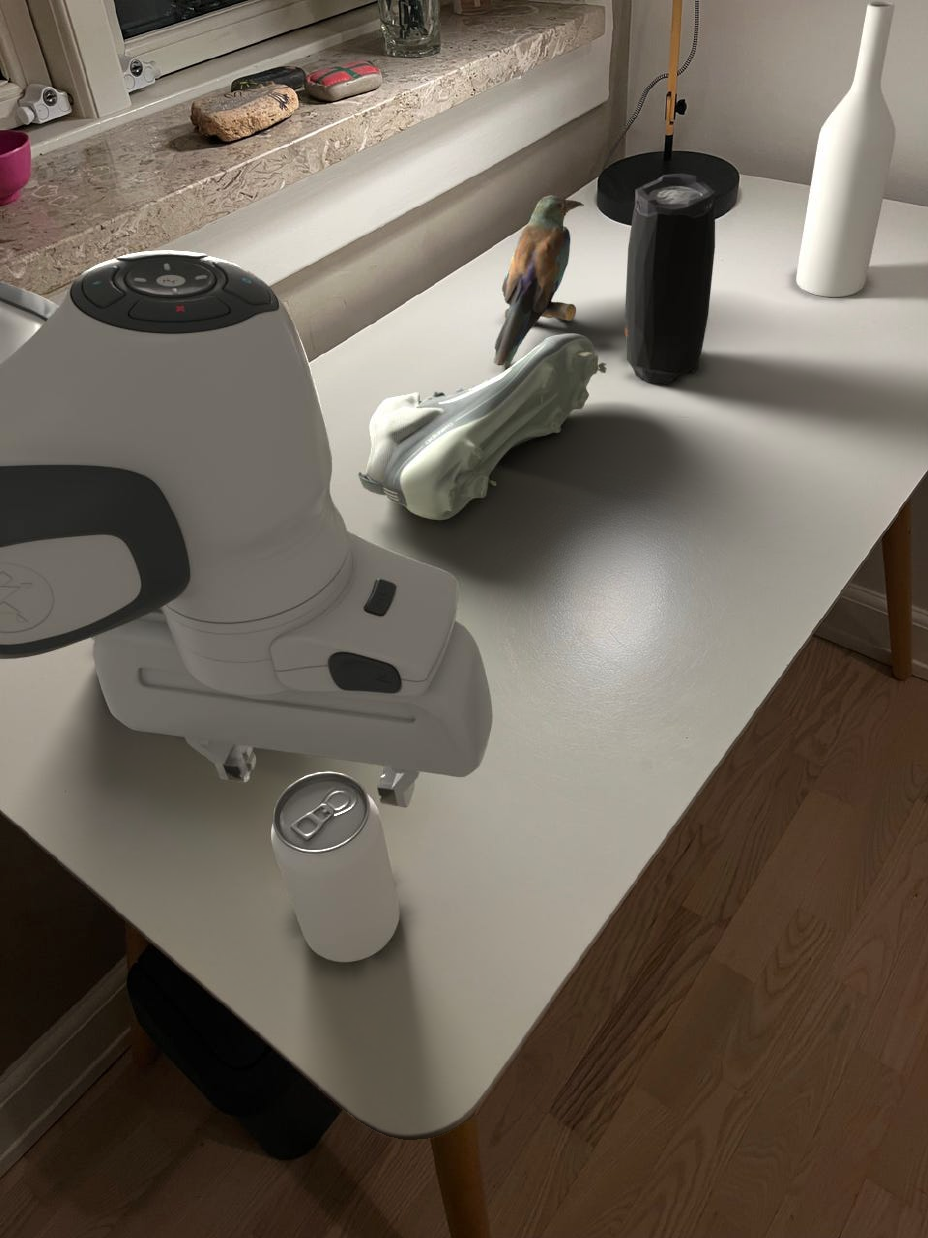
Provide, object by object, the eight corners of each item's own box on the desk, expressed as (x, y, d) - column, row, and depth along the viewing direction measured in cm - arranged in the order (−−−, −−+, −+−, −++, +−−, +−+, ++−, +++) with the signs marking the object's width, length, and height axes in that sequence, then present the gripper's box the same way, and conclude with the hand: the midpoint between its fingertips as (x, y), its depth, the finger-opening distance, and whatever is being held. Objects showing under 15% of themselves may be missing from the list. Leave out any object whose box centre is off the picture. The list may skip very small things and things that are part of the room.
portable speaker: (616, 384, 112) (622, 204, 99) (633, 342, 118) (640, 168, 105) (696, 391, 110) (713, 209, 96) (708, 348, 116) (726, 171, 103)
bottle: (873, 274, 126) (932, -5, 106) (853, 302, 121) (912, 16, 101) (807, 262, 130) (852, -10, 109) (786, 290, 125) (829, 11, 104)
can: (421, 915, 67) (400, 805, 59) (348, 986, 64) (315, 880, 56) (354, 859, 70) (326, 748, 62) (281, 924, 67) (241, 816, 59)
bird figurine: (545, 374, 113) (576, 180, 108) (464, 361, 117) (491, 173, 112) (582, 379, 125) (612, 204, 120) (508, 367, 129) (534, 197, 124)
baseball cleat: (619, 316, 103) (494, 281, 110) (443, 456, 87) (310, 405, 94) (615, 403, 110) (497, 366, 117) (451, 549, 94) (326, 495, 101)
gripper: (33, 625, 48) (124, 802, 57) (458, 677, 43) (480, 860, 53) (97, 539, 52) (172, 717, 62) (490, 578, 48) (506, 764, 57)
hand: (317, 783), depth 57 cm, fingers open, 8 cm apart
